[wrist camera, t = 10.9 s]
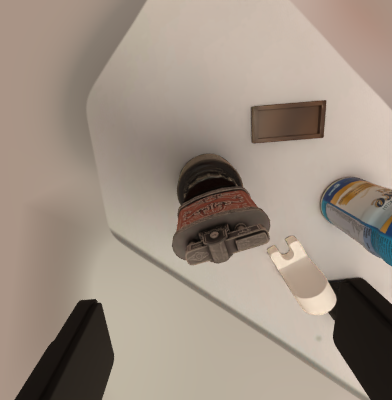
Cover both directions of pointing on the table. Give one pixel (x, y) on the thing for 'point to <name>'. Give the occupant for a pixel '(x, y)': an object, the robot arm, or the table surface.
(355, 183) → the beverage bottle
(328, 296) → the white l-shaped piece
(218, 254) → the lighter
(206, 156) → the ink bottle
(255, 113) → the tray
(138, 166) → the table surface
